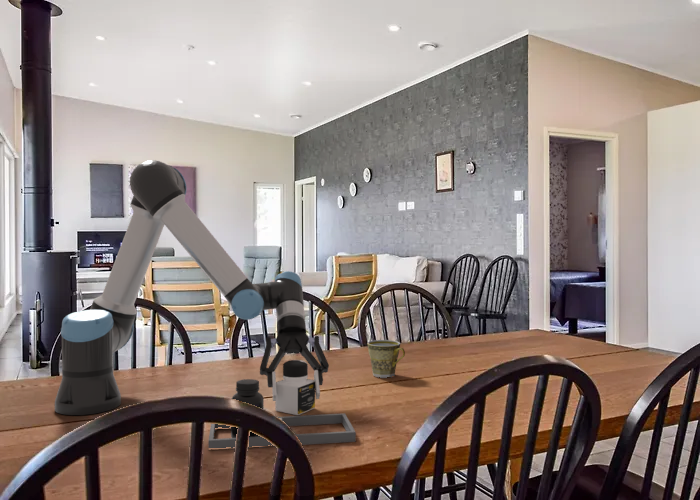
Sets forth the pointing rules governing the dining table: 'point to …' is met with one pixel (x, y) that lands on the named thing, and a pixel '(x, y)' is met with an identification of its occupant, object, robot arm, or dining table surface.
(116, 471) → the dining table surface
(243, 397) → the supplement bottle
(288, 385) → the medicine bottle
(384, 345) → the ceramic cup
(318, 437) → the tray
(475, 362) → the dining table surface
